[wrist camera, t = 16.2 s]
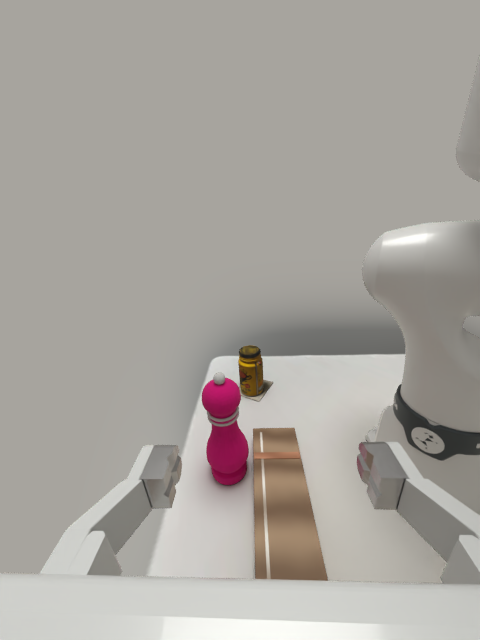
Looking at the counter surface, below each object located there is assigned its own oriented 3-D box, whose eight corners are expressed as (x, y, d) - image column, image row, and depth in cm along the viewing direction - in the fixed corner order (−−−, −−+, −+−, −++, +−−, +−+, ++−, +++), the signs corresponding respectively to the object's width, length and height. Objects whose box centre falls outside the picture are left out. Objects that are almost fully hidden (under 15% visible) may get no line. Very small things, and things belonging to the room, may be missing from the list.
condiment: (234, 393, 62) (230, 352, 57) (250, 376, 68) (247, 338, 64) (259, 402, 58) (257, 359, 54) (273, 383, 65) (272, 343, 60)
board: (253, 440, 48) (253, 428, 47) (294, 439, 47) (294, 427, 46) (258, 694, 22) (257, 682, 21) (347, 699, 21) (351, 686, 20)
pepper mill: (257, 464, 43) (252, 369, 36) (231, 498, 38) (219, 396, 31) (228, 444, 47) (218, 356, 40) (201, 472, 42) (184, 377, 35)
